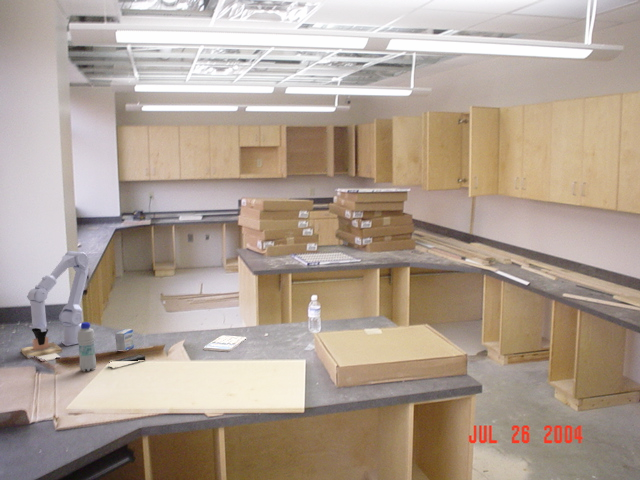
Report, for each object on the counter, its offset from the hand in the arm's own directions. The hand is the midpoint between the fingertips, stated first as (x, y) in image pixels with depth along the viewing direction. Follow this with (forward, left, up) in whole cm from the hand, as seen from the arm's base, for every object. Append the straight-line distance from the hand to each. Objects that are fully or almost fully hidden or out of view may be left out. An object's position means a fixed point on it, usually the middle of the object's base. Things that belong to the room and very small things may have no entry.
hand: (40, 344), depth 255 cm
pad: (0, +12, -4) cm, 13 cm away
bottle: (-8, +40, -4) cm, 41 cm away
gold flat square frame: (0, 0, -4) cm, 4 cm away
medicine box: (-30, +23, -4) cm, 38 cm away
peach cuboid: (0, 0, -3) cm, 3 cm away
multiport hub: (-23, +43, -4) cm, 49 cm away
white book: (-68, +48, -4) cm, 83 cm away
